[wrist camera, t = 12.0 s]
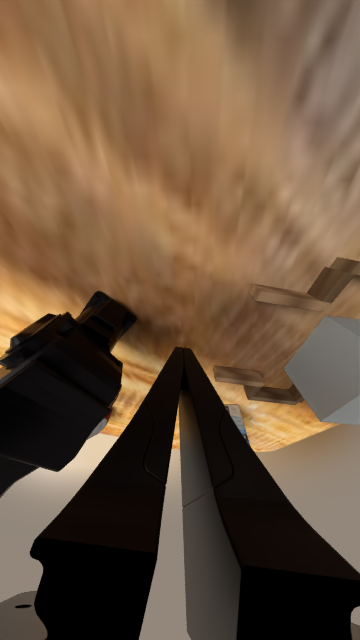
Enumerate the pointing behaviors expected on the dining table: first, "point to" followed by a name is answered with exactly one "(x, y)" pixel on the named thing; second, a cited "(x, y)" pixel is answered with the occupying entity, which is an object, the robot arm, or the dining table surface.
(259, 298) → the lane
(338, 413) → the block
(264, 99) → the dining table surface
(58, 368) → the robot arm
